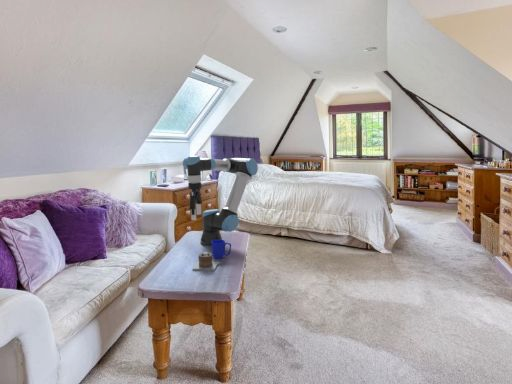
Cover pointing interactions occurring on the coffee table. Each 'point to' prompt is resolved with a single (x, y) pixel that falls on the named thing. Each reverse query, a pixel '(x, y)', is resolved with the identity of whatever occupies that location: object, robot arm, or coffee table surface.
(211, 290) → the coffee table surface
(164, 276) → the coffee table surface
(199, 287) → the coffee table surface
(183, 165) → the robot arm
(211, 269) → the square plate with peg
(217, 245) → the mug
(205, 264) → the ring
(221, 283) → the coffee table surface
